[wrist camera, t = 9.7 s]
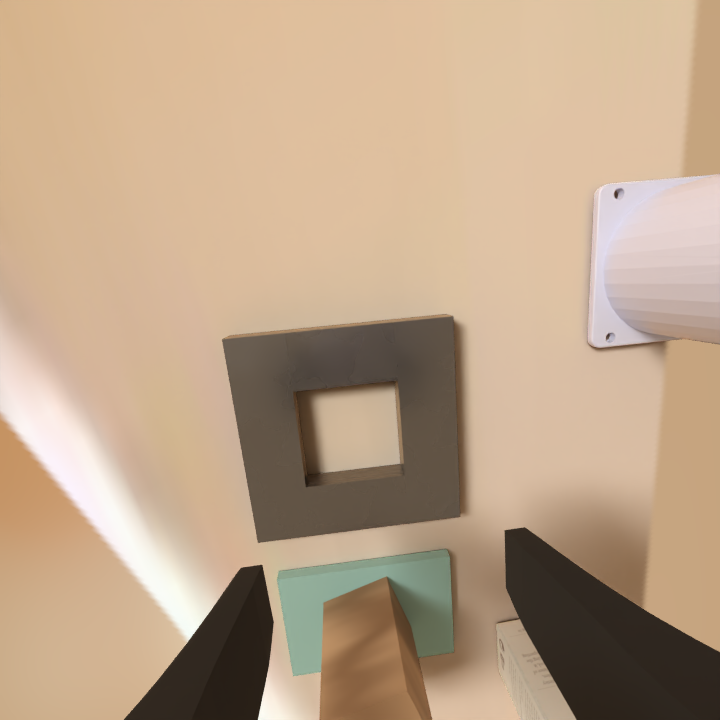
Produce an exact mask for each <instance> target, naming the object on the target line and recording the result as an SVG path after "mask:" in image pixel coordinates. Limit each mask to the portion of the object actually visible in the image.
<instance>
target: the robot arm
mask: <svg viewBox="0 0 720 720" xmlns="http://www.w3.org/2000/svg"><path fill="white" fill-rule="evenodd" d="M615 190H616V191H617V192H618V198H617V199H616V198H615V197H614V192H615ZM608 333H609V335H610V337H609V339H608V340H607V341H606V335H607V334H608ZM677 339H689V340H695V341H701V342H708V343H714V344H720V174H717V175H707V176H695V177H683V178H671V179H659V180H647V181H635V182H623V183H610V184H606V185H603V186H601V187H599V188H598V189H597V190H596V192H595V195H594V209H593V231H592V252H591V274H590V295H589V317H588V343H589V344H590V345H591V346H593V347H598V348H603V347H612V346H621V345H631V344H640V343H649V342H659V341H668V340H677ZM505 563H506V589H507V591H508V593H509V596H510V598H511V600H512V603H513V605H514V607H515V610H516V612H517V614H518V616H519V618H520V620H521V623H522V625H523V627H524V629H525V630H526V632H527V634H528V636H529V638H530V639H531V641H532V643H533V645H534V646H535V648H536V650H537V652H538V654H539V655H540V657H541V659H542V661H543V662H544V664H545V666H546V668H547V669H548V671H549V673H550V674H551V676H552V678H553V680H554V681H555V683H556V685H557V687H558V688H559V690H560V692H561V694H562V695H563V697H564V699H565V701H566V702H567V704H568V706H569V708H570V709H571V711H572V713H573V714H574V716H575V718H576V720H720V652H718V651H716V650H714V649H713V648H711V647H709V646H707V645H705V644H703V643H701V642H700V641H698V640H695V639H694V638H692V637H691V636H689V635H687V634H685V633H683V632H682V631H680V630H678V629H676V628H675V627H673V626H671V625H669V624H668V623H666V622H664V621H662V620H660V619H659V618H657V617H655V616H654V615H652V614H650V613H649V612H647V611H645V610H644V609H642V608H641V607H639V606H637V605H636V604H634V603H633V602H631V601H630V600H628V599H626V598H625V597H623V596H622V595H620V594H619V593H617V592H615V591H614V590H612V589H611V588H609V587H608V586H606V585H605V584H603V583H602V582H600V581H599V580H597V579H596V578H595V577H593V576H592V575H590V574H589V573H587V572H586V571H584V570H583V569H582V568H580V567H579V566H577V565H576V564H575V563H573V562H572V561H570V560H569V559H568V558H566V557H565V556H563V555H562V554H561V553H559V552H558V551H557V550H555V549H554V548H552V547H551V546H550V545H548V544H547V543H546V542H544V541H543V540H542V539H540V538H539V537H537V536H536V535H535V534H533V533H532V532H531V531H529V530H528V529H526V528H518V529H511V530H505ZM273 623H274V622H273V617H272V612H271V607H270V602H269V597H268V591H267V586H266V581H265V576H264V571H263V566H262V565H257V566H250V567H243V568H241V569H240V570H239V571H238V572H237V574H236V575H235V577H234V578H233V580H232V581H231V582H230V584H229V585H228V587H227V588H226V590H225V591H224V593H223V594H222V595H221V597H220V598H219V600H218V601H217V603H216V604H215V605H214V607H213V608H212V610H211V611H210V613H209V614H208V615H207V617H206V618H205V619H204V621H203V622H202V624H201V625H200V626H199V628H198V629H197V630H196V632H195V633H194V634H193V636H192V637H191V639H190V640H189V641H188V643H187V644H186V645H185V647H184V648H183V649H182V650H181V652H180V653H179V654H178V655H177V657H176V658H175V659H174V660H173V662H172V663H171V664H170V666H169V667H168V668H167V669H166V671H165V672H164V673H163V675H162V676H161V677H160V678H159V679H158V681H157V682H156V683H155V684H154V685H153V687H152V688H151V689H150V690H149V691H148V693H147V694H146V695H145V696H144V697H143V698H142V700H141V701H140V702H139V703H138V704H137V705H136V706H135V708H134V709H133V710H132V711H131V712H130V714H128V716H127V717H126V718H125V719H124V720H258V716H259V711H260V706H261V701H262V696H263V692H264V687H265V682H266V677H267V672H268V667H269V660H270V652H271V643H272V633H273Z"/></svg>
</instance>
